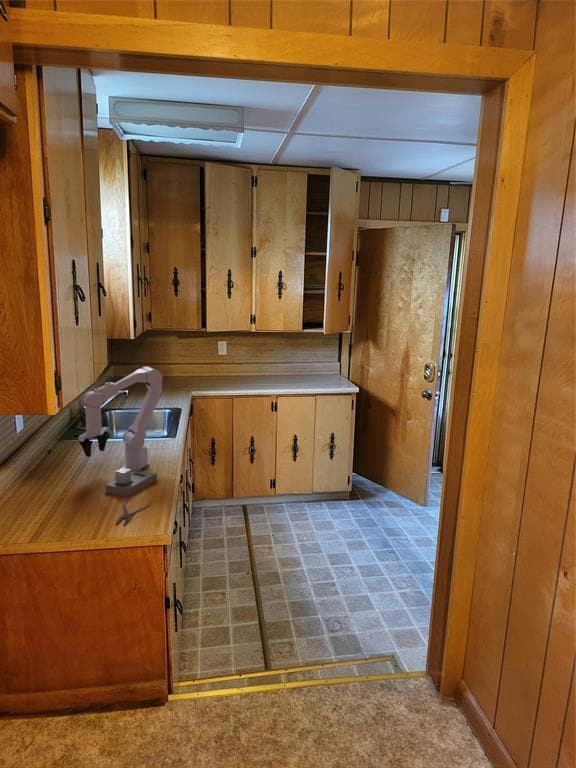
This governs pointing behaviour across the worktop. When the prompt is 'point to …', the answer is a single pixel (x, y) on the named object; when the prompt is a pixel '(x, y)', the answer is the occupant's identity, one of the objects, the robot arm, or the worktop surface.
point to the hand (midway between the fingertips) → (95, 453)
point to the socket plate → (132, 483)
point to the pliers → (129, 516)
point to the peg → (123, 477)
